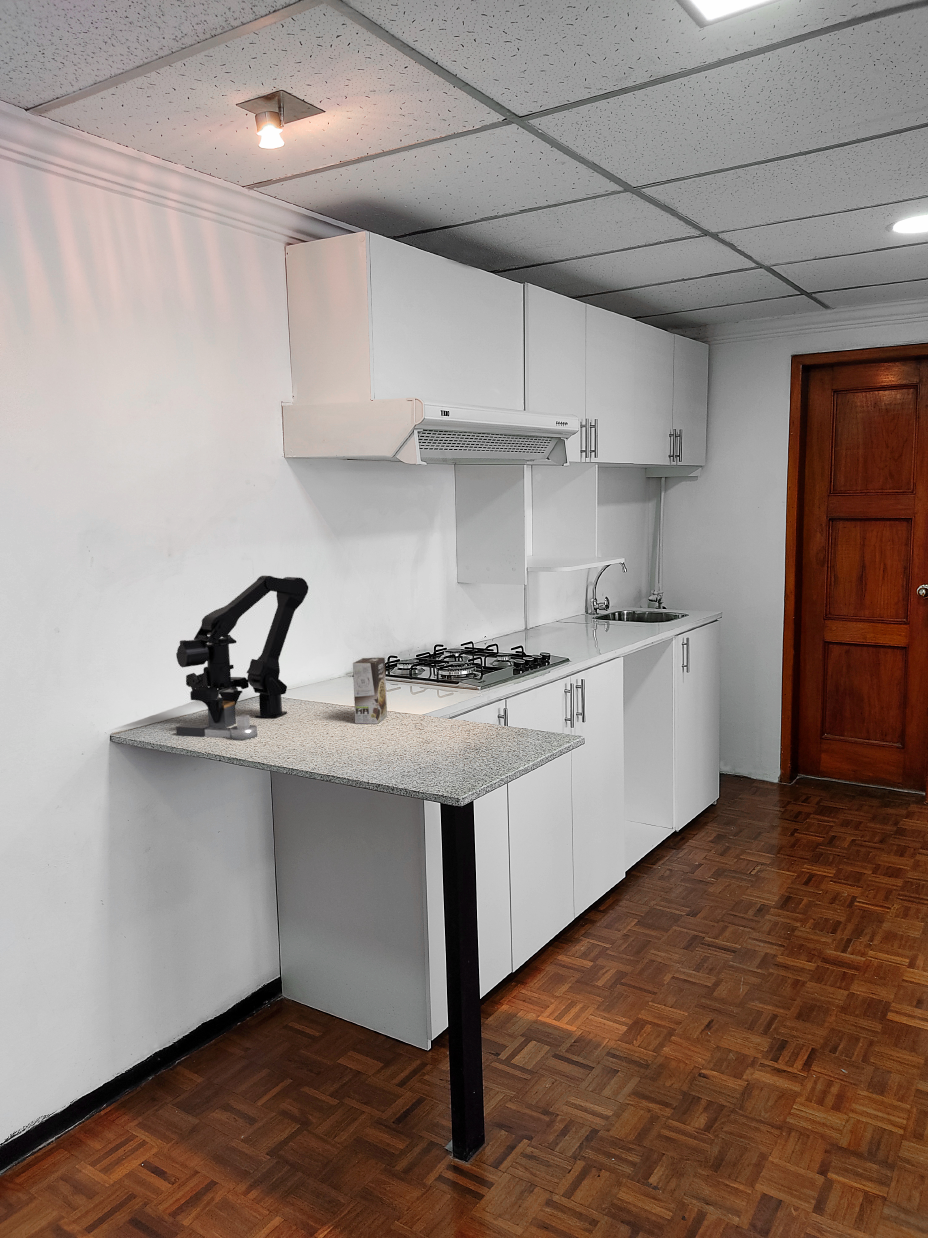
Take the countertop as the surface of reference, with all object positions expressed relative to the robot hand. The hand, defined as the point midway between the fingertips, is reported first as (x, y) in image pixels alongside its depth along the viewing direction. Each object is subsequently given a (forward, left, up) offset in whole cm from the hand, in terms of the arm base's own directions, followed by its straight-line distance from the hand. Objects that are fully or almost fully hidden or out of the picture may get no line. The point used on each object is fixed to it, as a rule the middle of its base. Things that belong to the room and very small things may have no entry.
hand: (222, 720), depth 244 cm
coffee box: (-13, +37, -1) cm, 39 cm away
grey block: (0, 0, -1) cm, 1 cm away
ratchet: (+11, +5, -1) cm, 12 cm away
